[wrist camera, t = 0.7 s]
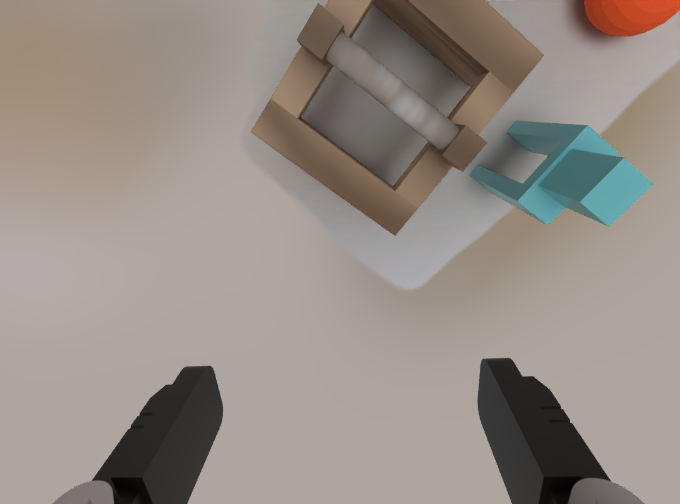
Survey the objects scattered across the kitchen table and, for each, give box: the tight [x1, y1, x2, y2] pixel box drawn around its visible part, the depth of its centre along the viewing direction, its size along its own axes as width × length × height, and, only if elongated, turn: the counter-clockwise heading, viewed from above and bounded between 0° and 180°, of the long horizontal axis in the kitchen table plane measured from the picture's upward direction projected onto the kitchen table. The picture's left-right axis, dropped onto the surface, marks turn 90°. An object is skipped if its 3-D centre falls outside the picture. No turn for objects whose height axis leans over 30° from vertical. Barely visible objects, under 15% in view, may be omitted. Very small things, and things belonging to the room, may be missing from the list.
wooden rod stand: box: [251, 0, 544, 236], centre depth 27 cm, size 14×12×15 cm
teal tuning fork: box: [470, 121, 653, 226], centre depth 28 cm, size 6×3×16 cm, turn 144°
